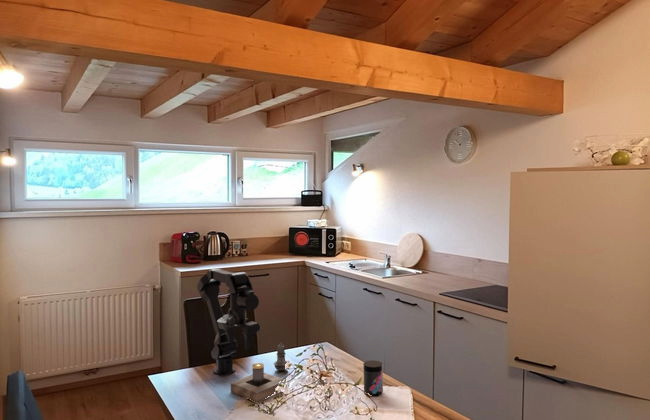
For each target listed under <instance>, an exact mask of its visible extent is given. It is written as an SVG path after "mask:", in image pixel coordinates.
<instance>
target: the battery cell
mask: <svg viewBox="0 0 650 420" xmlns="http://www.w3.org/2000/svg"><path fill="white" fill-rule="evenodd" d="M264 366H265V365H264V363H261V362H255V363H253V364H252V366H251V367H252V369H251V371H252V374H253V385H254V386H256V387H259V386H261V385H264V373H265V369H264Z"/></svg>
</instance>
